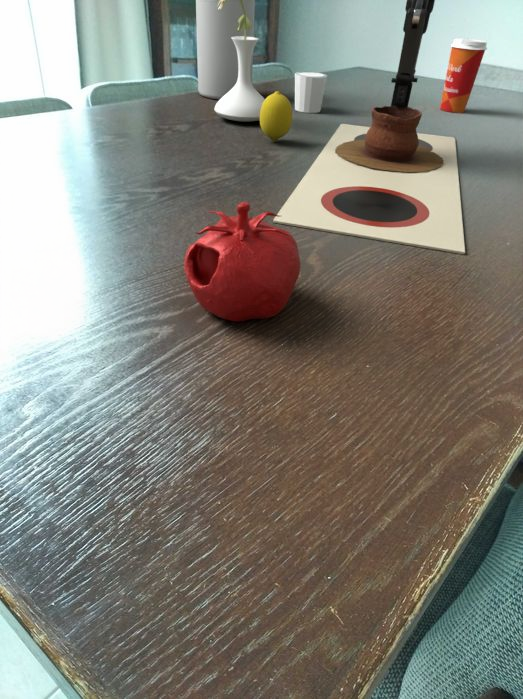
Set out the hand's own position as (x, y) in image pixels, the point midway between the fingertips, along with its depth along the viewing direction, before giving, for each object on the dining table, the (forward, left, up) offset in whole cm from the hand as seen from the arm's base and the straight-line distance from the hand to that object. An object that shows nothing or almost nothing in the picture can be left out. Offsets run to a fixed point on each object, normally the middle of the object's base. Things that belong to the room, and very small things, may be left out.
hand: (395, 125), depth 84 cm
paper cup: (-11, -42, -4) cm, 43 cm away
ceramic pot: (0, +5, -4) cm, 6 cm away
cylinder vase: (+41, -29, -4) cm, 50 cm away
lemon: (+20, +4, -4) cm, 21 cm away
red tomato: (+9, +56, -4) cm, 57 cm away
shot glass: (+20, -24, -4) cm, 31 cm away
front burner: (0, +28, -4) cm, 29 cm away
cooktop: (0, +12, -4) cm, 13 cm away
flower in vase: (+30, -8, -4) cm, 31 cm away
